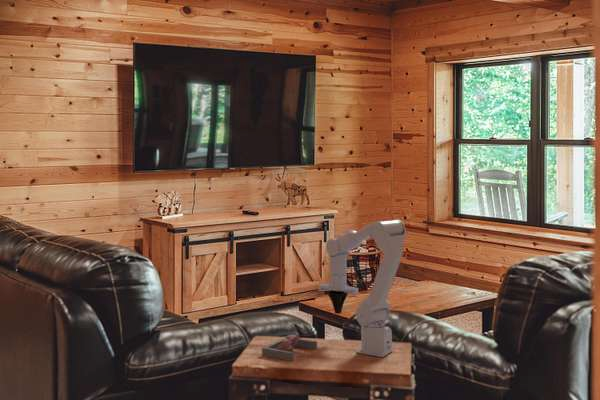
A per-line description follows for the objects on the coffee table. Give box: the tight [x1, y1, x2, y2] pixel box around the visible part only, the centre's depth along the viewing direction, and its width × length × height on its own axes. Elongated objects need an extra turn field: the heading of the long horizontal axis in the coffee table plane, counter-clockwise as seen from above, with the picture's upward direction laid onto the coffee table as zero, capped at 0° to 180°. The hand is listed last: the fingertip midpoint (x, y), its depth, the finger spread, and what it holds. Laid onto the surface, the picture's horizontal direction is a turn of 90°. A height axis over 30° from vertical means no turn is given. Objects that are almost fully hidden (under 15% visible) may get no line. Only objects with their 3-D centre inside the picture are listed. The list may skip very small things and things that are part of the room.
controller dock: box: [261, 337, 318, 362], centre depth 239 cm, size 11×15×2 cm
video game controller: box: [275, 333, 300, 352], centre depth 239 cm, size 10×5×7 cm, turn 156°
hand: (338, 313), depth 252 cm, fingers closed
